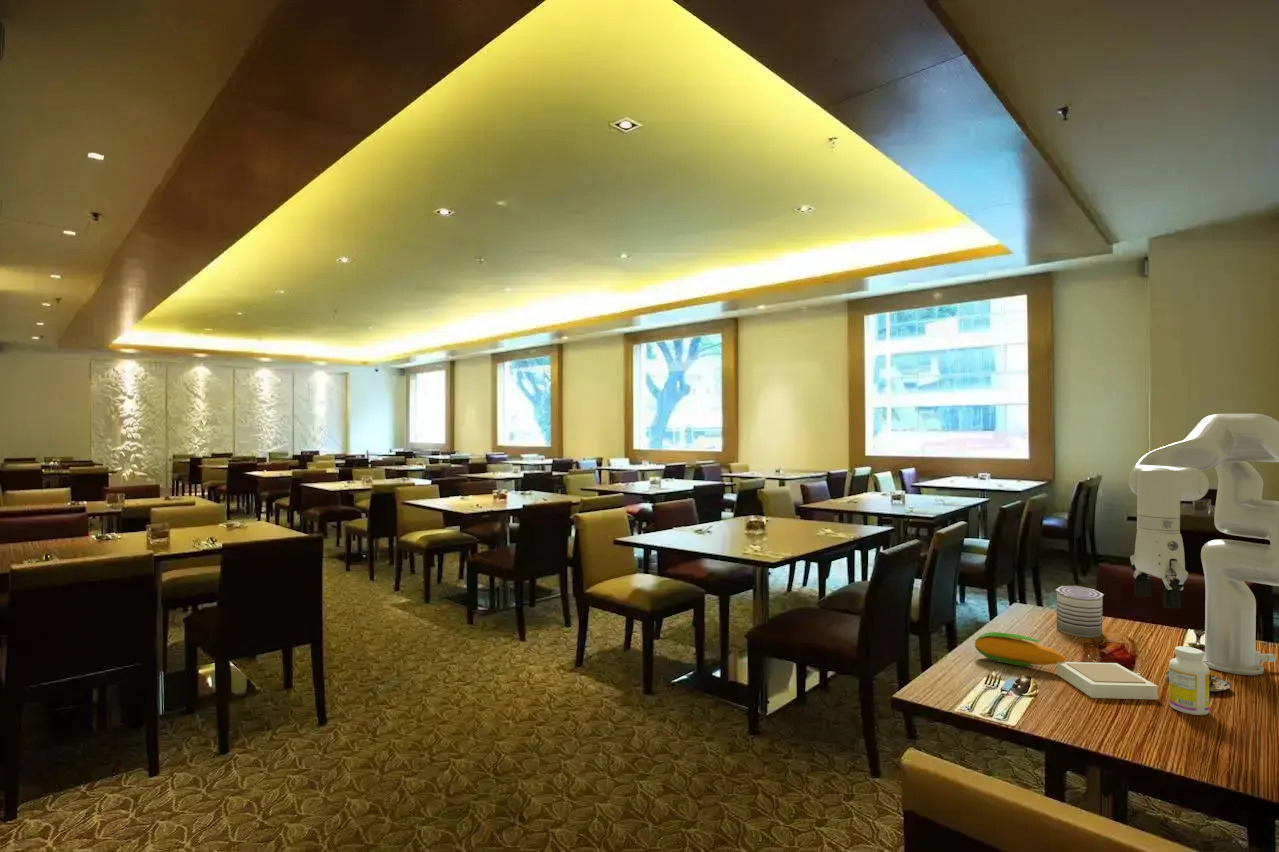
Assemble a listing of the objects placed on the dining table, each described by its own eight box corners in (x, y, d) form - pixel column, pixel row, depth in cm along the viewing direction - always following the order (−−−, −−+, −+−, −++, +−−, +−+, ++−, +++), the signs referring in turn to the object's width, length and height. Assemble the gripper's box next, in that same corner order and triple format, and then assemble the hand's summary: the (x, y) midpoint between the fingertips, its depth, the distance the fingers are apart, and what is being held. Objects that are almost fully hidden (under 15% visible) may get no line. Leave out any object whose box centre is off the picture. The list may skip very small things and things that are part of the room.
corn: (977, 623, 179) (1066, 637, 168) (978, 651, 180) (1067, 667, 168) (972, 632, 173) (1064, 646, 162) (972, 661, 174) (1064, 678, 162)
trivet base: (1116, 675, 164) (1116, 662, 163) (1157, 699, 150) (1157, 684, 150) (1056, 674, 164) (1056, 660, 164) (1091, 697, 150) (1091, 683, 150)
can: (1106, 631, 198) (1106, 590, 198) (1098, 640, 190) (1098, 597, 190) (1061, 623, 206) (1061, 583, 206) (1051, 631, 198) (1052, 590, 197)
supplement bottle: (1194, 703, 147) (1195, 645, 147) (1217, 717, 141) (1218, 655, 141) (1161, 702, 148) (1162, 643, 148) (1182, 715, 141) (1183, 654, 141)
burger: (1176, 692, 154) (1177, 659, 154) (1157, 674, 165) (1157, 643, 165) (1242, 700, 150) (1242, 666, 150) (1217, 681, 161) (1218, 649, 161)
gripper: (1205, 530, 140) (1204, 613, 140) (1150, 519, 157) (1149, 592, 158) (1166, 529, 141) (1165, 612, 141) (1116, 518, 158) (1115, 591, 158)
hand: (1156, 601), depth 149 cm, fingers open, 9 cm apart
